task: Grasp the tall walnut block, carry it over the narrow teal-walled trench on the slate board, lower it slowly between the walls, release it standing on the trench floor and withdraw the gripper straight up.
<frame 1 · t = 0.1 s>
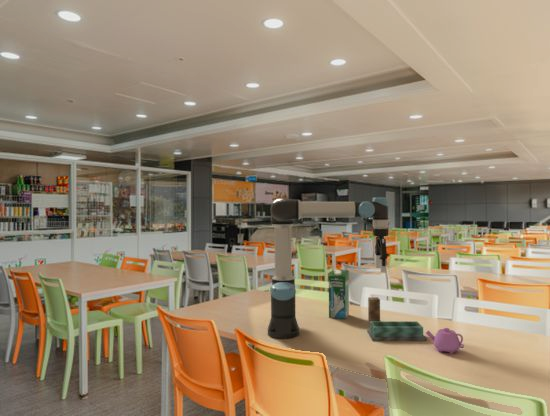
hand: (381, 270, 206), 28 cm above the table, fingers open, 13 cm apart
teapot: (444, 350, 171), on the table
milk carton: (339, 316, 223), on the table
well: (395, 336, 189), on the table
walnut block: (374, 321, 213), on the table
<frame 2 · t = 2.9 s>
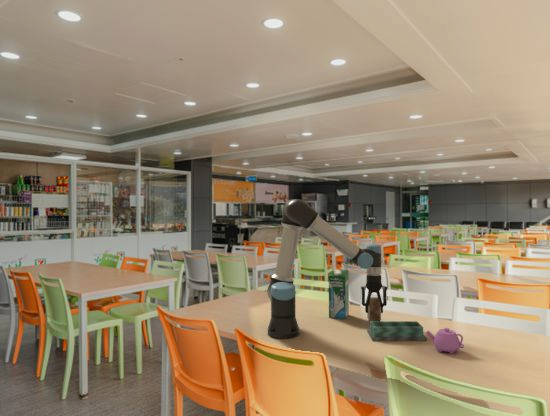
hand: (374, 318, 213), 1 cm above the table, fingers closed on walnut block, 5 cm apart
walnut block: (374, 321, 213), on the table, touching gripper
everything else where it was.
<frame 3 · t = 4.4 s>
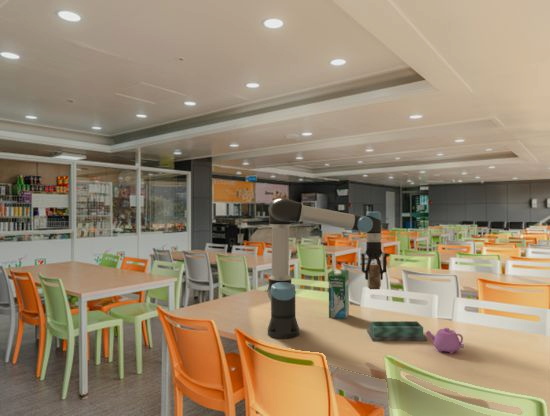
hand: (373, 285, 212), 19 cm above the table, fingers closed on walnut block, 5 cm apart
walnut block: (373, 288, 212), point 17 cm above the table, touching gripper
everything else where it was.
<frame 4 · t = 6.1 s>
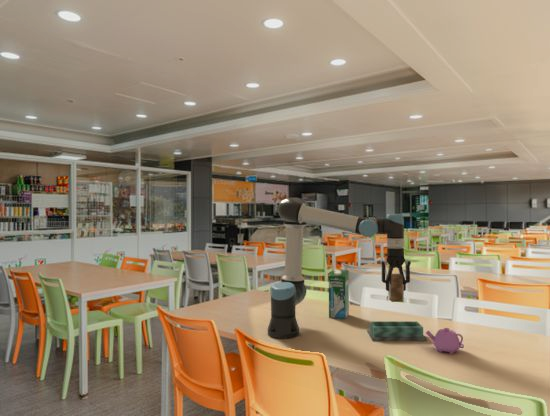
hand: (395, 297, 188), 18 cm above the table, fingers closed on walnut block, 5 cm apart
walnut block: (395, 300, 188), point 17 cm above the table, touching gripper
everything else where it was.
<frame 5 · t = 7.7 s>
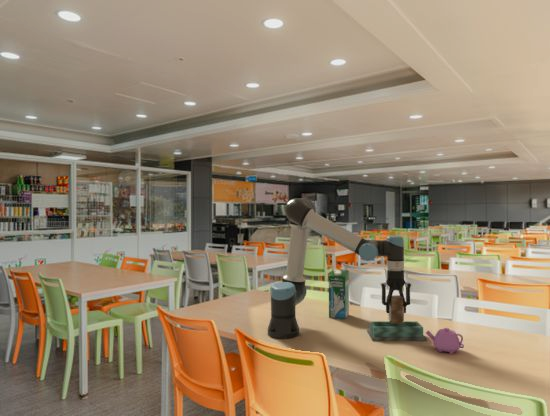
hand: (396, 319, 189), 8 cm above the table, fingers closed on walnut block, 5 cm apart
walnut block: (396, 322, 189), point 6 cm above the table, touching gripper
everything else where it was.
when the fingers open (4 cm above the table, at t = 9.1 s): walnut block drops 2 cm, resting on well.
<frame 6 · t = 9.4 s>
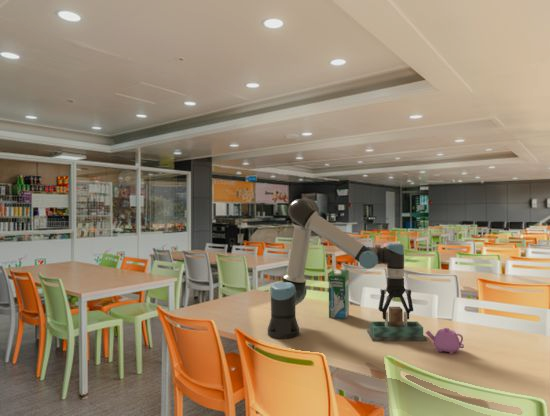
hand: (395, 326, 189), 5 cm above the table, fingers open, 8 cm apart
walnut block: (395, 333, 189), point 1 cm above the table, touching well
everything else where it was.
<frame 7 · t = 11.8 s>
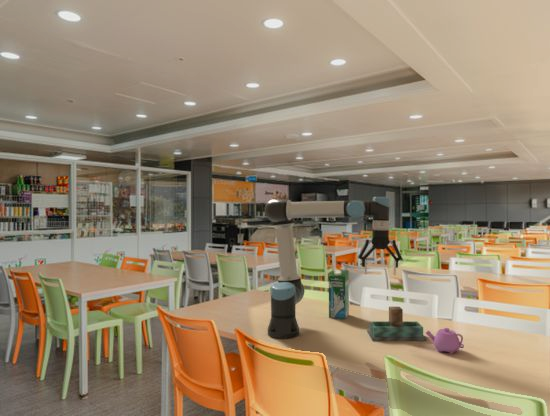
hand: (379, 274, 193), 28 cm above the table, fingers open, 13 cm apart
nothing on the table moved.
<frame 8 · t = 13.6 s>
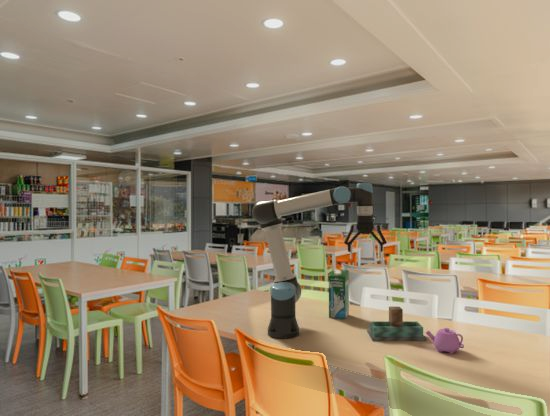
hand: (365, 258, 199), 35 cm above the table, fingers open, 13 cm apart
nothing on the table moved.
at the end: walnut block inside the target area on the well (0.1 cm from its centre), point 1.2 cm above the well's base; walnut block tilted 0°; the gripper is holding nothing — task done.
